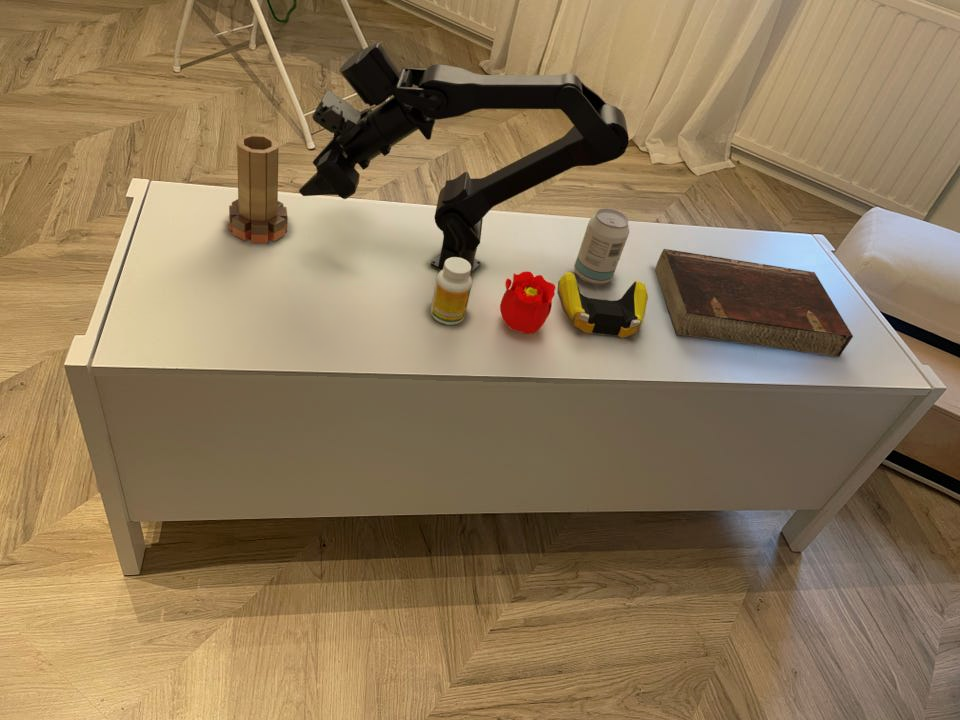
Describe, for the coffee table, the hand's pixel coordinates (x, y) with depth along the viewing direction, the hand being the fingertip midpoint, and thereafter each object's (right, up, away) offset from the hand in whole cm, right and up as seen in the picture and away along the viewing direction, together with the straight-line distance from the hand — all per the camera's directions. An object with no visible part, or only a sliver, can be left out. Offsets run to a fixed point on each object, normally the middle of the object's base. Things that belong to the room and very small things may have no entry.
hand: (308, 178), depth 121 cm
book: (+73, -20, +15) cm, 77 cm away
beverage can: (+46, -14, +15) cm, 50 cm away
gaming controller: (+46, -22, +6) cm, 51 cm away
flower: (+33, -23, +1) cm, 40 cm away
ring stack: (-10, -6, +7) cm, 13 cm away
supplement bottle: (+22, -21, -1) cm, 31 cm away
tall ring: (-9, -4, +4) cm, 11 cm away
